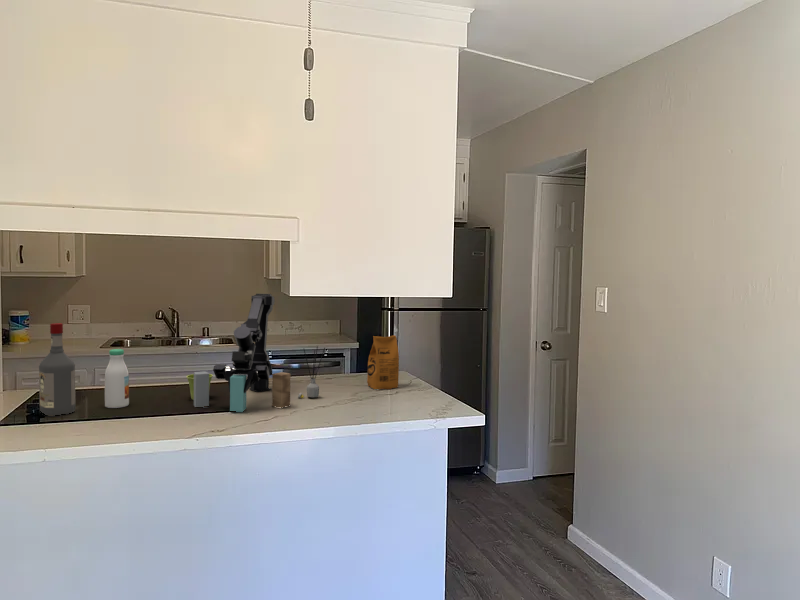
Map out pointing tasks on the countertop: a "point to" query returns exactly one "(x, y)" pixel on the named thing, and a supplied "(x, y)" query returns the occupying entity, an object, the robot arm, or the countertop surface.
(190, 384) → the plant pot
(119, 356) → the milk bottle
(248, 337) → the robot arm
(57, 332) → the liquor
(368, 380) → the coffee package
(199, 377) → the slate block
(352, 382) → the countertop surface
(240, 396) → the teal block
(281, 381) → the walnut block
